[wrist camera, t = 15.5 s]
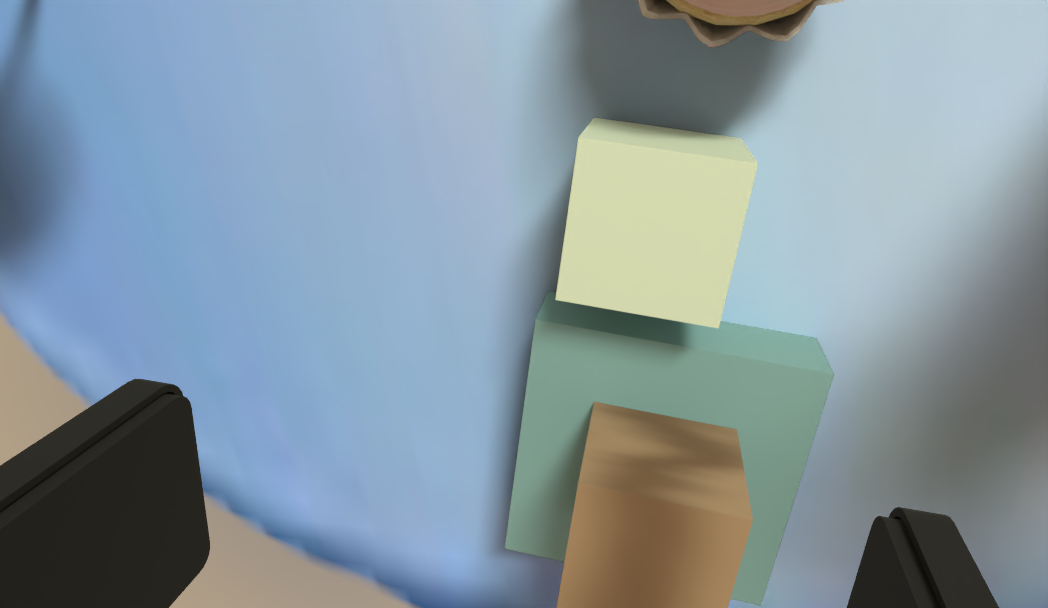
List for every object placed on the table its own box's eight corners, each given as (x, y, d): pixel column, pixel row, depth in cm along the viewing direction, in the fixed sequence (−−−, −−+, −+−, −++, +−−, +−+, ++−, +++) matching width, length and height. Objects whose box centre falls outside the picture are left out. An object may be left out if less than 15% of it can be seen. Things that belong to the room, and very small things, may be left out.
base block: (814, 333, 32) (834, 373, 28) (750, 547, 36) (760, 605, 33) (549, 287, 33) (535, 319, 30) (520, 498, 38) (504, 548, 34)
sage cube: (740, 137, 29) (757, 163, 24) (709, 275, 31) (718, 328, 26) (594, 117, 30) (578, 137, 24) (574, 253, 32) (555, 299, 27)
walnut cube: (737, 429, 30) (752, 520, 24) (706, 544, 32) (714, 651, 27) (594, 401, 31) (578, 483, 25) (574, 515, 33) (555, 613, 27)
